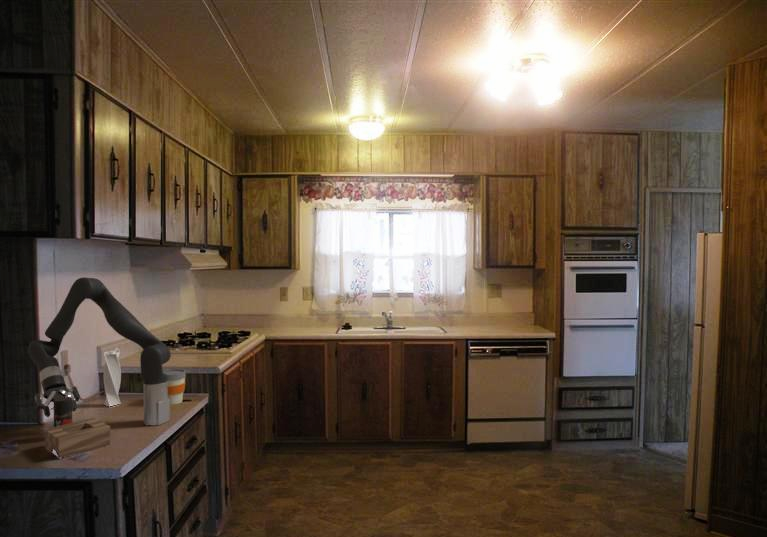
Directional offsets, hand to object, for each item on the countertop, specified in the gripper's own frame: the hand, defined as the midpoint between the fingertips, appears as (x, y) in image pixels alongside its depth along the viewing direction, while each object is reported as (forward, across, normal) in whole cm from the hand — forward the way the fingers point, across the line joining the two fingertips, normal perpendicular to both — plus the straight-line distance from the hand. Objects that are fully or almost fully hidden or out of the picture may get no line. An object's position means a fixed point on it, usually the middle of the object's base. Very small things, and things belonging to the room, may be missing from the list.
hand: (61, 412), depth 174 cm
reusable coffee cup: (0, +49, +14) cm, 51 cm away
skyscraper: (-14, +29, +28) cm, 43 cm away
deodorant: (+8, 0, +6) cm, 10 cm away
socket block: (+19, 0, -6) cm, 20 cm away
